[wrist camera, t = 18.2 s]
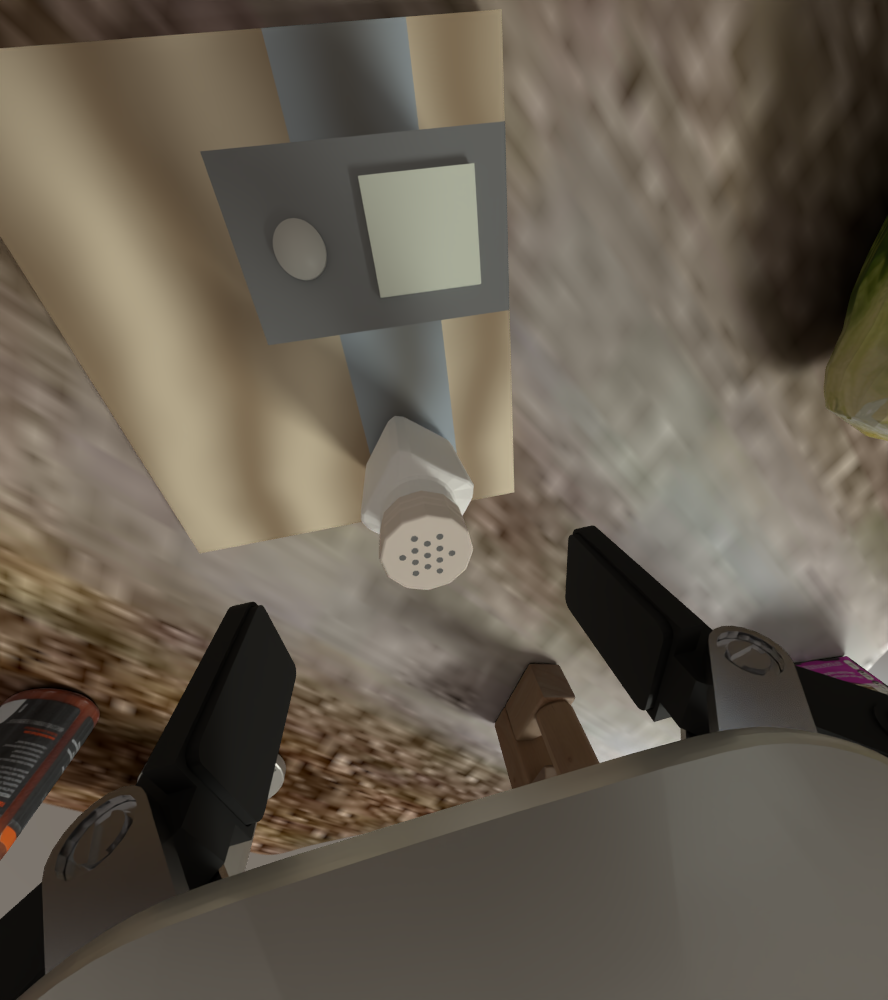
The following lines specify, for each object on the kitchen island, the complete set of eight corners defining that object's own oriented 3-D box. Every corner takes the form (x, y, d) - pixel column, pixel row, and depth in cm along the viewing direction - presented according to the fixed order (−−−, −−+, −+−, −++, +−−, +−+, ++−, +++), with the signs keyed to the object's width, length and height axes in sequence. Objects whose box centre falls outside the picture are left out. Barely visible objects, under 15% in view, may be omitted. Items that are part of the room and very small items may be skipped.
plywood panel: (208, 541, 21) (199, 553, 20) (-68, 81, 11) (-113, 57, 10) (508, 484, 23) (514, 492, 22) (491, 33, 13) (501, 9, 12)
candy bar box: (847, 652, 43) (1073, 815, 29) (825, 676, 46) (1024, 837, 32) (776, 663, 42) (980, 841, 27) (757, 687, 44) (935, 863, 30)
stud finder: (305, 336, 16) (265, 346, 10) (269, 214, 14) (194, 146, 8) (469, 312, 16) (512, 310, 11) (460, 193, 14) (508, 115, 9)
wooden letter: (492, 723, 38) (570, 1010, 22) (528, 661, 33) (657, 966, 18) (521, 723, 39) (615, 997, 23) (559, 662, 34) (709, 952, 19)
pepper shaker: (422, 495, 21) (447, 610, 13) (362, 469, 19) (347, 580, 11) (454, 441, 20) (507, 530, 11) (392, 408, 18) (401, 484, 10)
